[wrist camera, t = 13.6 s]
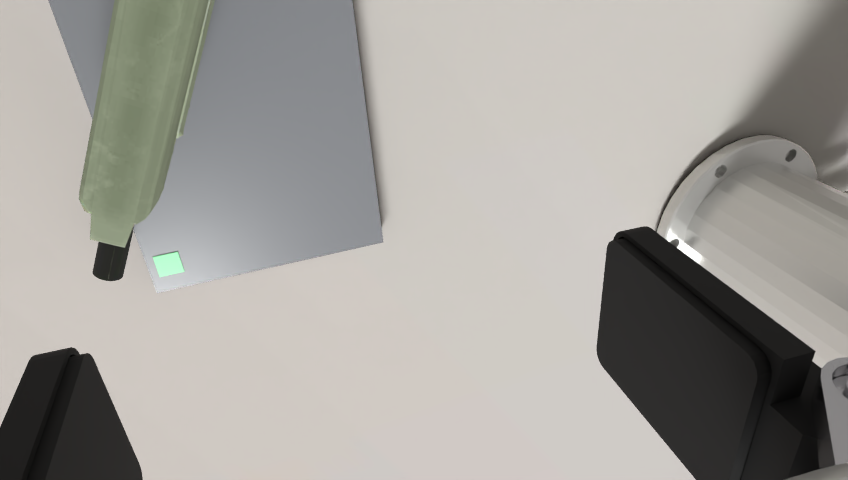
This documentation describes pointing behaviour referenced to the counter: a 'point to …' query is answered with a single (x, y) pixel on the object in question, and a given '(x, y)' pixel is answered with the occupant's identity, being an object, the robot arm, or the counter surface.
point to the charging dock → (254, 140)
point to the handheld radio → (138, 117)
